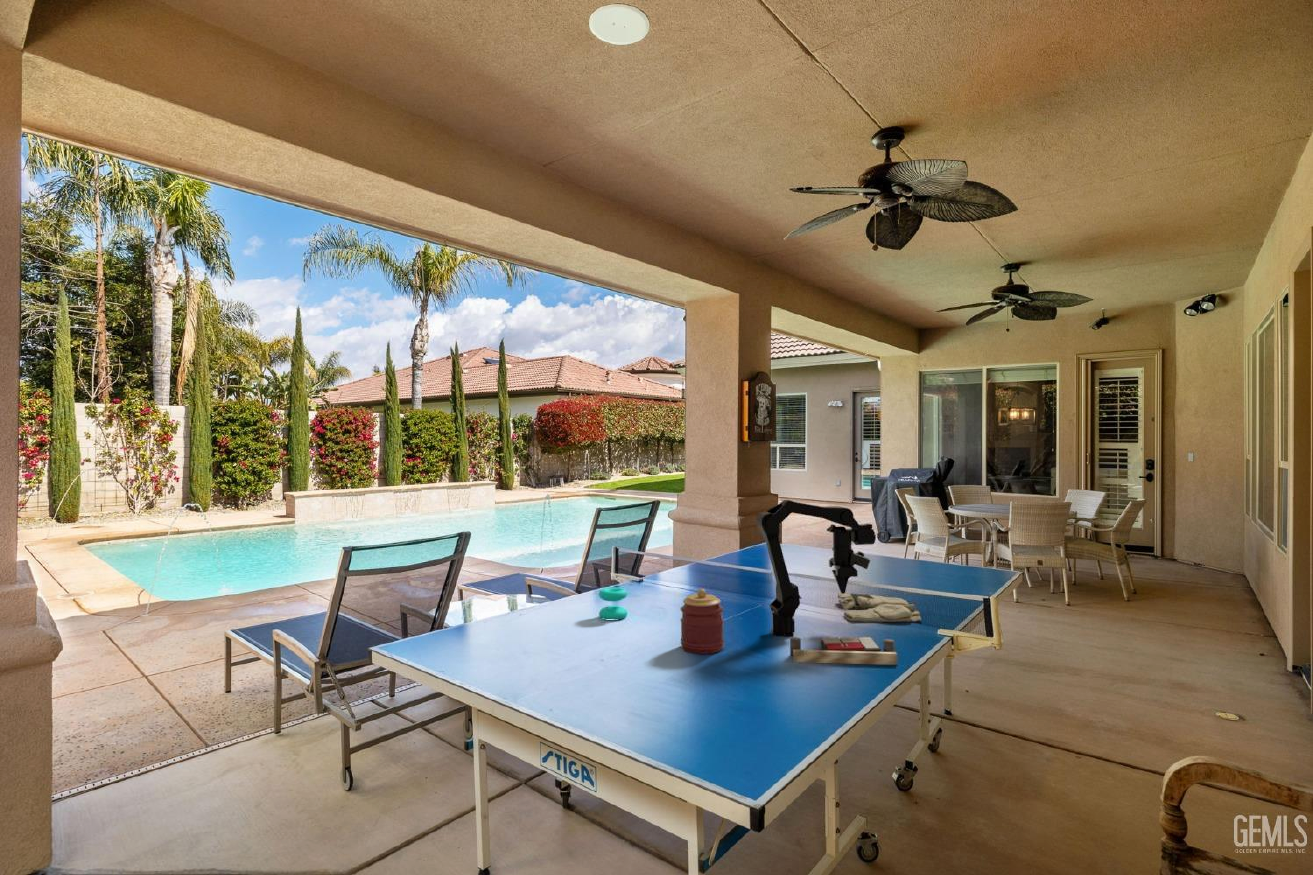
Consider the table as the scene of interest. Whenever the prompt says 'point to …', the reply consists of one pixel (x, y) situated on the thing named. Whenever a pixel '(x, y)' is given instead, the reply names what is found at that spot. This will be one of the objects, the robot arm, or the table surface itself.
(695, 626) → the canister
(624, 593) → the donuts
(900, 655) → the table surface
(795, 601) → the robot arm
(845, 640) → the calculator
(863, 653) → the seat bracket
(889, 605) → the pair of gloves
